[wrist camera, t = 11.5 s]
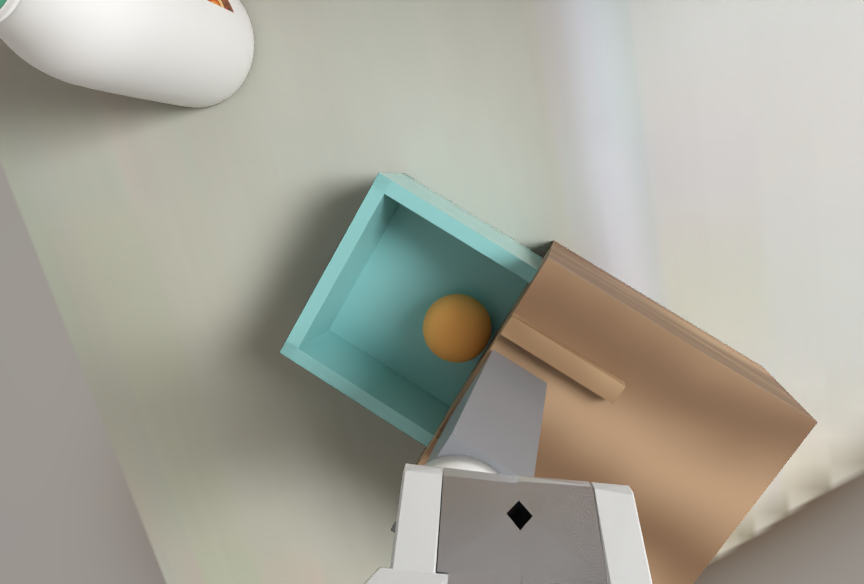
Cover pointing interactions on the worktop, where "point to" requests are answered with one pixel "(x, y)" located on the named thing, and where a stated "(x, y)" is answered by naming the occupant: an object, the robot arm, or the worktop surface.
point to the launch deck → (646, 409)
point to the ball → (457, 328)
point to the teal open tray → (404, 301)
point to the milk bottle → (136, 45)
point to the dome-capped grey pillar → (494, 422)
